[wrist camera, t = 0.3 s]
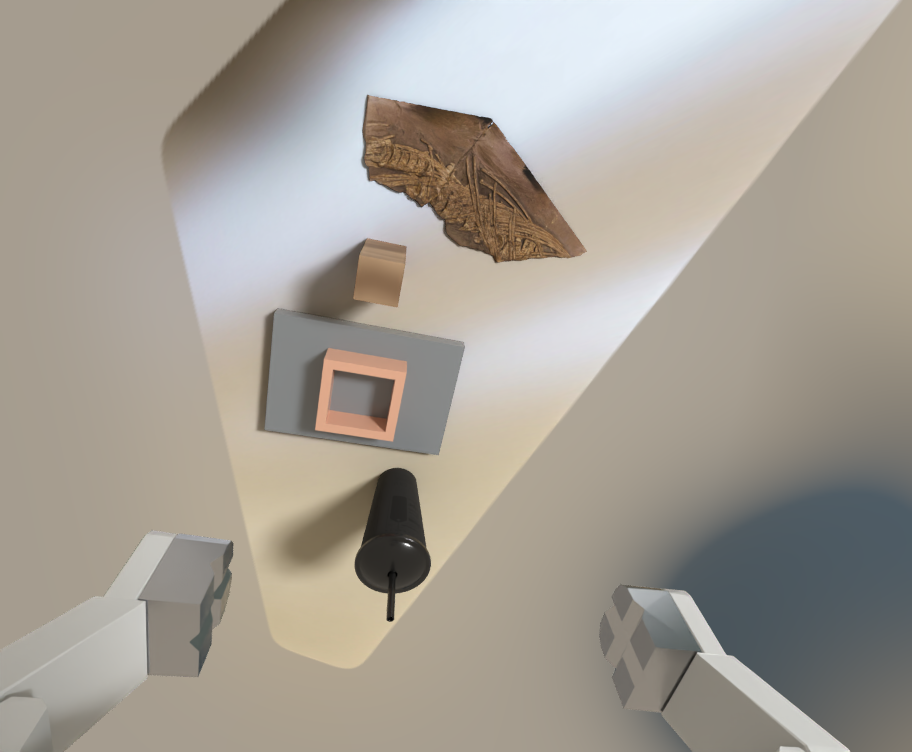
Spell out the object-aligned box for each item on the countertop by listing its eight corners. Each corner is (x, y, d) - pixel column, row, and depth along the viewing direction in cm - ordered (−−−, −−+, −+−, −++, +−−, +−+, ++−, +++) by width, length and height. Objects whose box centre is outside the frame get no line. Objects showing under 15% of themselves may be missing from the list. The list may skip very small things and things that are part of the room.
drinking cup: (353, 478, 64) (329, 613, 46) (404, 447, 63) (400, 574, 45) (389, 518, 67) (380, 659, 49) (439, 489, 66) (448, 624, 48)
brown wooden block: (366, 238, 52) (359, 255, 45) (406, 246, 53) (405, 264, 46) (361, 276, 54) (352, 299, 47) (399, 284, 54) (397, 307, 47)
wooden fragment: (334, 153, 49) (332, 153, 48) (398, 42, 46) (398, 40, 45) (541, 303, 57) (544, 306, 56) (609, 218, 54) (613, 219, 53)
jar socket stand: (277, 308, 55) (266, 322, 50) (463, 342, 58) (467, 357, 54) (267, 423, 60) (257, 444, 56) (438, 448, 63) (439, 469, 59)
